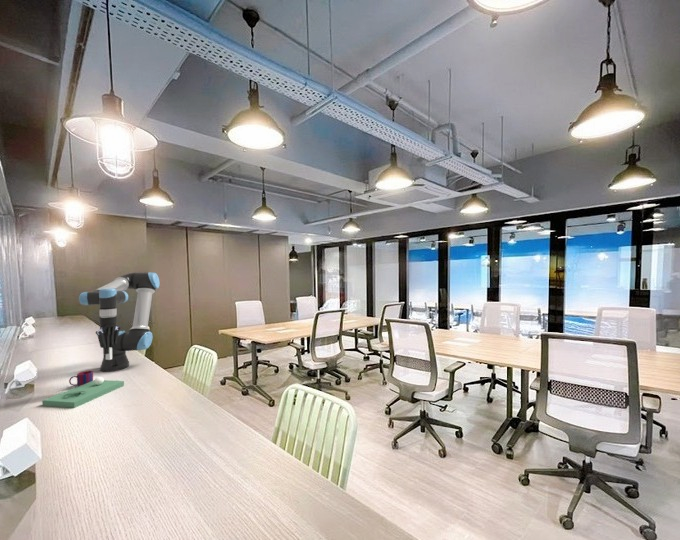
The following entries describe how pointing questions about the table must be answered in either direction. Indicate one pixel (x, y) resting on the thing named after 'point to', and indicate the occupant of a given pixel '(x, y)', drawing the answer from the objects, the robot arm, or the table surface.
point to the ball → (99, 381)
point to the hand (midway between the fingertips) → (108, 359)
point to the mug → (83, 378)
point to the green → (82, 394)
